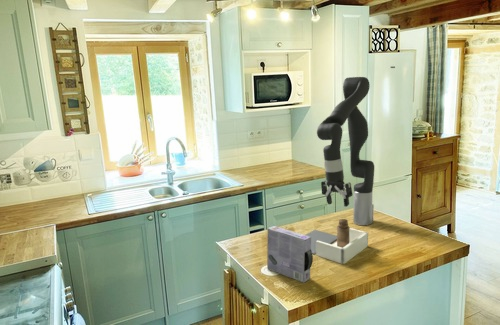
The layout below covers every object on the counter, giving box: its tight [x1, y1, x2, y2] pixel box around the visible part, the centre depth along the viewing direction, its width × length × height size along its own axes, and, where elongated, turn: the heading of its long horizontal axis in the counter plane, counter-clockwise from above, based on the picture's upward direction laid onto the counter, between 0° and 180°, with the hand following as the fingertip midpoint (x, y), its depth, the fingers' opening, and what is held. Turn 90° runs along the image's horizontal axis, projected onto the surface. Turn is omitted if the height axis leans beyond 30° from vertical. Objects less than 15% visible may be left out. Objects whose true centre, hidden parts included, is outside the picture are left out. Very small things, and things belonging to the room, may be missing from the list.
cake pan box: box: [266, 225, 314, 284], centre depth 145 cm, size 19×5×18 cm, turn 48°
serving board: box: [305, 229, 337, 256], centre depth 173 cm, size 22×14×1 cm, turn 137°
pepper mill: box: [336, 218, 351, 248], centre depth 162 cm, size 5×5×14 cm
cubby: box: [315, 227, 369, 265], centre depth 163 cm, size 21×13×7 cm, turn 137°
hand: (338, 204), depth 163 cm, fingers open, 8 cm apart
